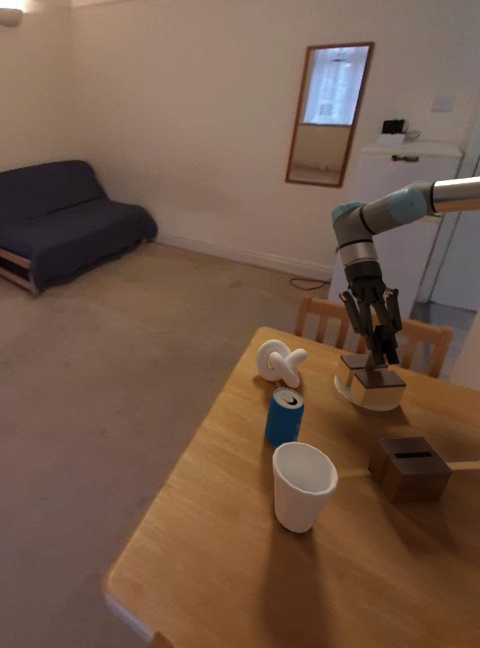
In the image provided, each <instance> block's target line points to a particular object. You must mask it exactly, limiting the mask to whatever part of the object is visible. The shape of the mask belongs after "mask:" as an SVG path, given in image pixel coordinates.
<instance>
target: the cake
mask: <svg viewBox="0 0 480 648" xmlns="http://www.w3.org/2000/svg"><path fill="white" fill-rule="evenodd" d="M368 354H369V353H355V354H340V356H339V359H338V364H337V367H336V371H335V375H337V376H338V377H339V379H340V380H341V381H342V383H343V384H344V385H345V387H350V386H351V388H350V391H349V392H350V393H351V395H352V396H353V397H354V399H355V400H356V401H357V402H358V404H359V405H360V406H359V405H358V406H359V407H361V406H373V405H390V404H399V405H400V404H401V400H402V398H403V395H404V393H405V390H406V387H407V383H406V382H405V380H403V379H402V378H401V376H399V375H398V374H397V373H396V371H394V370H393V369H391V370H388V369H389V367H390V365H389V364H388V362H386V361H385V363H386V365H380V368H379V371H372V372H363V371H364V367H365V364H366V361H367V357H368Z"/></svg>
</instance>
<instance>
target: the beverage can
mask: <svg viewBox="0 0 480 648" xmlns="http://www.w3.org/2000/svg"><path fill="white" fill-rule="evenodd" d="M304 412H305V403H304V398H303V396H302V395H301V394H300V393H299V392H298V391H296V390H294V389H293V388H290V387H278V388H277V389H275V390H274V391H273V393H272V394H271V395H270V399H269V404H268V410H267V417H266V422H265V428H264V437H265V440H266V442H268V444H270V445H271V446H272V447H274V448H278V447H279V446H281V445H282V444H284V443H289V442H298V438H299V434H300V430H301V424H302V420H303V416H304Z"/></svg>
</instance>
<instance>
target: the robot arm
mask: <svg viewBox="0 0 480 648" xmlns="http://www.w3.org/2000/svg"><path fill="white" fill-rule="evenodd" d="M473 211H476V212H477V211H480V175H479V176H471V177H462V178H454V179H444V180H437V181H425V180H416V181H412V182H408V183H406V184H404V185H402V186H401V187H400V188H398V189H397V190H395V191H393V192H391V193H389V194H387V195H386V196H383V197H381V198H379V199H376V200H375V201H372V202H370V203H368V204H365V205H364V204H363V203H362V202H360V201H348V202H346V203H340V204H339V205H337V206H335V207H333V208H332V210H331V213H330V216H331V222H332V229H333V230H334V234H335V238H336V243H337V246H338V249H339V254H340V258H341V263H342V266H343V267H344V269H343V272H344V276H345V280H346V282H347V283H348V285H347V289H346V290H345V291H342V292H340V293H339V294H338V298H339V299H340V300H341V301H342V303H343V304H344V307H345V308H344V309H345V310H346V313H347V316H348V318H349V321H350V324H351V327H352V331H353V332H354V334H357V335H360V336H361V337H362V338H364V340H365V344H366V349H367V350H368V351H370V353H372V356H373V360H374V364H375V366H377V365H386V363H387V364H388V365H389V366H392V365H400V364H401V362H400V359H399V356H398V352H397V349H399V344H398V341H397V338H396V334H397V333H398V332H399V331H402V330H403V323H402V317H401V312H400V306H399V299H398V297H399V294H400V291H399V289H398V288H390V287H388V286H387V284H386V283H385V282H384V280H383V274H384V273H383V271H382V268H381V264H380V262H379V261H378V260H379V257H378V253H377V249H376V246H375V243H374V238H373V236H377V235H379V234H382V233H385V232H387V231H390V230H393V229H396V228H397V229H398V228H399V227H402V226H405V225H410V224H412V223H414V222H416V221H418V220H422V219H423V218H424V217H426V216H427V215H428V214H429V215H430V214H439V213H440V214H441V213H457V212H473ZM354 298H355V299H356V301H355V299H354ZM371 307H372V308H373V309H374V312H375V314H376V317H377V320H378V322H379V325H387V326H388V327H389V328H390V329H391V330H392V331H393V332H392V335H391V338H390V341H389V344H388V347H387V350H386V353H385V356H386V360H387V362H386V360H385V356H384V355H383V352H382V348H381V344H380V341H379V337H378V335H373V334H374V330H375V329H374V325H373V316H372V309H371ZM385 362H386V363H385Z"/></svg>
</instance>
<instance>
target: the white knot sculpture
mask: <svg viewBox="0 0 480 648" xmlns="http://www.w3.org/2000/svg"><path fill="white" fill-rule="evenodd" d="M307 356H308V353H307V351H306V350H305V349H304V348H297V349H295V350H294V351H291V349H290V348H289V347H288V345H287V344H285V342H283V341H281V340H280V339H269V340H266V341H265V342H264V343H262V344H261V346H259V349H258V350H257V353H256V357H255V366H256V369H257V373H258V374H259V375H260V376H261V378H263V379H264V380H266V381H268V382H279V381H280V380H282V381H283V382H284V383H285V384H286V386H287V387H288V388H290V389H297V388H298V387H300V383H301V379H300V376H299V371H298V369H297V366H299V365H300V364H301V363H302V362H304V361H305V360H306V359H307ZM270 367H271V368H270Z"/></svg>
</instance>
